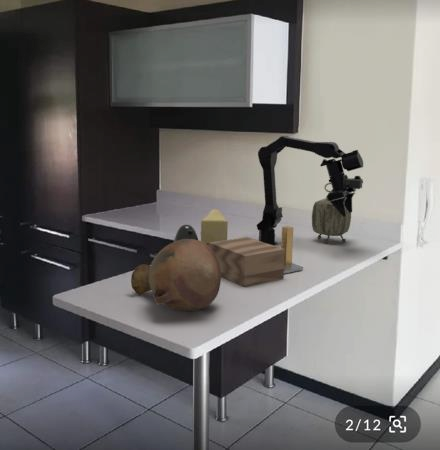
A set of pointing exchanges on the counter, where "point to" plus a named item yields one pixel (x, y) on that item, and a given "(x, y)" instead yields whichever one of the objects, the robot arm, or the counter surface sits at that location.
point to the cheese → (214, 227)
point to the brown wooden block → (249, 261)
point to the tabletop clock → (329, 219)
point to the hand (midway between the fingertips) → (347, 214)
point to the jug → (181, 275)
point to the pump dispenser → (185, 233)
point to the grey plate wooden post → (288, 250)
